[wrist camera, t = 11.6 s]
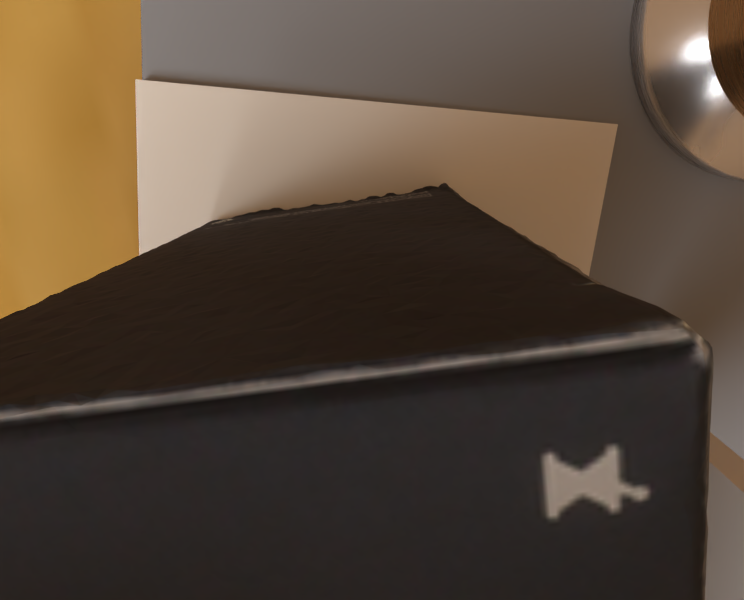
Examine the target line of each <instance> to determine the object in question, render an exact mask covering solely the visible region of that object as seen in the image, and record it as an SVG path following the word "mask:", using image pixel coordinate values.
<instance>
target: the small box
mask: <svg viewBox="0 0 744 600" xmlns="http://www.w3.org/2000/svg"><path fill="white" fill-rule="evenodd" d="M713 369H714V361H713V351H712V347H711V345H710V343H709V342H708V341H706V340H705V339H704V338H702V337H701V336H700V335H699V334H697V333H696V332H695V331H694V330H693V329H692V328H691V327H690V326H689V325H688V324H687V323H686V322H685V321H683V320H682V319H680V318H678V317H677V316H675V315H673V314H671V313H669V312H668V311H666V310H664V309H662V308H660V307H658V306H656V305H654V304H651V303H648V302H646V301H643V300H640V299H638V298H635V297H632V296H629V295H627V294H624V293H621V292H619V291H617V290H615V289H612V288H609V287H607V286H605V285H603V284H601V283H599V282H598V281H596V280H594V279H593V278H591V277H589V276H588V275H586V274H584V273H583V272H582V271H581V270H580V269H579V268H577V267H576V266H574V265H572V264H570V263H568V262H566V261H564V260H563V259H561V258H559V257H558V256H557V255H556V254H555V253H552V252H550V251H548V250H547V249H545V248H544V247H542V246H540V245H538V244H535V243H534V242H532V241H531V240H530V239H529V238H528V237H526V236H525V235H522V234H520V233H518V232H517V231H515V230H514V229H513V228H511V227H509V226H507V225H505V224H503V223H501V222H499V221H498V220H496V219H495V218H493V217H492V216H490V215H489V214H487V213H485V212H483V211H482V210H480V209H479V208H478V207H476V206H474V205H473V204H471V203H469V202H467V201H466V200H465V199H464V198H462V197H461V196H460V195H459V194H458V193H457V192H456V191H454V190H453V189H452V188H450V187H449V186H448V185H447V184H446V183H443V184H441V185H440V186H439V187H436V186H426V187H423V188H420V189H416V190H414V191H412V192H409V193H405V194H395V193H387V194H386V195H384V196H382V197H379V196H369V197H367V198H366V199H361V200H358V201H353V200H348V201H345V202H341V203H331V204H324V205H319V204H313V205H310V206H306V207H301V208H292V209H289V210H284V209H281V208H272V209H269V210H260V211H257V212H249V213H246V214H244V215H238V216H235V217H232V218H227V219H220V220H213V221H210V222H208V223H206V224H205V225H203V226H201V227H199V228H196V229H194V230H193V231H190V232H188V233H186V234H184V235H182V236H180V237H178V238H176V239H174V240H172V241H170V242H168V243H165V244H162V245H160V246H158V247H157V248H154V249H151V250H150V251H148V252H145V253H143V254H141V255H139V256H137V257H135V258H133V259H131V260H129V261H127V262H125V263H123V264H121V265H118V266H115V267H113V268H111V269H109V270H107V271H105V272H102V273H100V274H98V275H96V276H95V277H93V278H91V279H89V280H87V281H84V282H82V283H79V284H77V285H74V286H72V287H70V288H68V289H66V290H64V291H62V292H60V293H57V294H54V295H50V296H49V297H47V298H46V299H44V300H43V301H41V302H39V303H37V304H35V305H33V306H30V307H27V308H26V309H24V310H20V311H16V312H14V313H12V314H10V315H8V316H6V317H4V318H2V319H0V600H705V586H706V561H707V542H708V522H707V502H708V492H709V452H710V424H711V406H712V387H713Z"/></svg>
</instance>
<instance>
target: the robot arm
mask: <svg viewBox="0 0 744 600" xmlns="http://www.w3.org/2000/svg"><path fill="white" fill-rule="evenodd" d="M707 522H708V542H707V561H706V586H705V600H744V460H743V459H742V458H741V457H740V456H739V455H737V454H736V453H735V452H734V451H732V450H731V449H730V448H729V447H728V446H726V445H725V444H724V443H723V442H722V441H720V440H719V439H718V438H717V437H716V436H714V435H713V434H712V433H711V432H710V452H709V492H708V502H707Z"/></svg>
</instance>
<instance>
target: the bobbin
mask: <svg viewBox="0 0 744 600" xmlns="http://www.w3.org/2000/svg"><path fill="white" fill-rule="evenodd" d="M629 53H630V62H631V71H632V77H633V81H634V85H635V89H636V93H637V96H638V98H639V101H640V103H641V106H642V108H643V111H644V113H645V114H646V116H647V118H648V120H649V121H650V123H651V125H652V127H653V128H654V130H655V131H656V132H657V133H658V135H659V136H660V137H661V138H662V140H663V141H664V142H665V143H666V144H667V145H668V146H669V147H670V148H671V149H672V150H673V151H674V152H675V153H676V154H677V155H679V156H680V157H682V158H683V159H685V160H686V161H687V162H689V163H690V164H692V165H694V166H696V167H698V168H700V169H702V170H704V171H706V172H708V173H711V174H714V175H717V176H720V177H724V178H728V179H734V180H740V181H744V0H635V2H634V6H633V10H632V18H631V25H630V49H629Z"/></svg>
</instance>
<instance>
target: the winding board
mask: <svg viewBox="0 0 744 600" xmlns="http://www.w3.org/2000/svg"><path fill="white" fill-rule="evenodd" d="M634 2H635V0H141V34H142V80H137V79H135V85H136V131H137V177H138V222H139V255H141V254H143V253H145V252H148V251H150V250H151V249H154V248H157V247H158V246H160V245H162V244H165V243H168V242H170V241H172V240H174V239H176V238H178V237H180V236H182V235H184V234H186V233H188V232H190V231H193V230H194V229H196V228H199V227H201V226H203V225H205V224H206V223H208V222H210V221H213V220H220V219H227V218H232V217H235V216H238V215H244V214H246V213H249V212H257V211H260V210H269V209H272V208H281V209H284V210H289V209H292V208H301V207H306V206H310V205H313V204H319V205H324V204H331V203H341V202H345V201H348V200H353V201H358V200H361V199H366V198H367V197H369V196H379V197H382V196H384V195H386V194H387V193H395V194H405V193H409V192H412V191H414V190H416V189H420V188H423V187H426V186H436V187H439V186H440V185H441V184H443V183H446V184H447V185H448V186H449V187H450V188H452V189H453V190H454V191H456V192H457V193H458V194H459V195H460V196H461V197H462V198H464V199H465V200H466V201H467V202H469V203H471V204H473V205H474V206H476V207H478V208H479V209H480V210H482V211H483V212H485V213H487V214H489V215H490V216H492V217H493V218H495V219H496V220H498V221H499V222H501V223H503V224H505V225H507V226H509V227H511V228H513V229H514V230H515V231H517V232H518V233H520V234H522V235H525V236H526V237H528V238H529V239H530V240H531V241H532V242H534V243H535V244H538V245H540V246H542V247H544V248H545V249H547V250H548V251H550V252H552V253H555V254H556V255H557V256H558V257H559V258H561V259H563V260H564V261H566V262H568V263H570V264H572V265H574V266H576V267H577V268H579V269H580V270H581V271H582V272H583V273H584V274H586V275H588V276H589V277H591V278H593V279H594V280H596V281H598V282H599V283H601V284H603V285H605V286H607V287H609V288H612V289H615V290H617V291H619V292H621V293H624V294H627V295H629V296H632V297H635V298H638V299H640V300H643V301H646V302H648V303H651V304H654V305H656V306H658V307H660V308H662V309H664V310H666V311H668V312H669V313H671V314H673V315H675V316H677V317H678V318H680V319H682V320H683V321H685V322H686V323H687V324H688V325H689V326H690V327H691V328H692V329H693V330H694V331H695V332H696V333H697V334H699V335H700V336H701V337H702V338H704V339H705V340H706V341H708V342H709V343H710V345H711V347H712V351H713V361H714V369H713V387H712V406H711V424H710V432H711V433H712V434H713V435H714V436H716V437H717V438H718V439H719V440H720V441H722V442H723V443H724V444H725V445H726V446H728V447H729V448H730V449H731V450H732V451H734V452H735V453H736V454H737V455H739V456H740V457H741V458H742V459H743V460H744V181H740V180H734V179H728V178H724V177H720V176H717V175H714V174H711V173H708V172H706V171H704V170H702V169H700V168H698V167H696V166H694V165H692V164H690V163H689V162H687V161H686V160H685V159H683V158H682V157H680V156H679V155H677V154H676V153H675V152H674V151H673V150H672V149H671V148H670V147H669V146H668V145H667V144H666V143H665V142H664V141H663V140H662V138H661V137H660V136H659V135H658V133H657V132H656V131H655V130H654V128H653V127H652V125H651V123H650V121H649V120H648V118H647V116H646V114H645V113H644V111H643V108H642V106H641V103H640V101H639V98H638V96H637V93H636V89H635V85H634V81H633V77H632V71H631V62H630V53H629V49H630V25H631V18H632V10H633V6H634Z"/></svg>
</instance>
